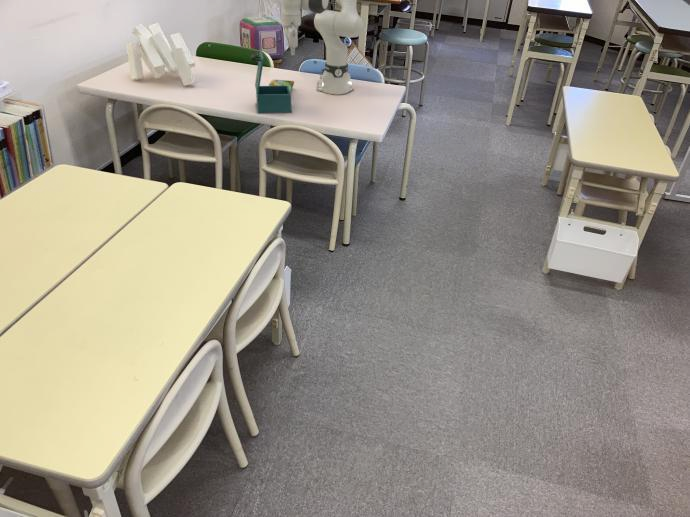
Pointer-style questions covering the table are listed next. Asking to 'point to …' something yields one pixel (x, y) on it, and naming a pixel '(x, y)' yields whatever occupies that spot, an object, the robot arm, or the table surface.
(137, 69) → the pile of blocks
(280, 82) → the puzzle game
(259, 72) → the cooler lid
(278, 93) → the cooler
